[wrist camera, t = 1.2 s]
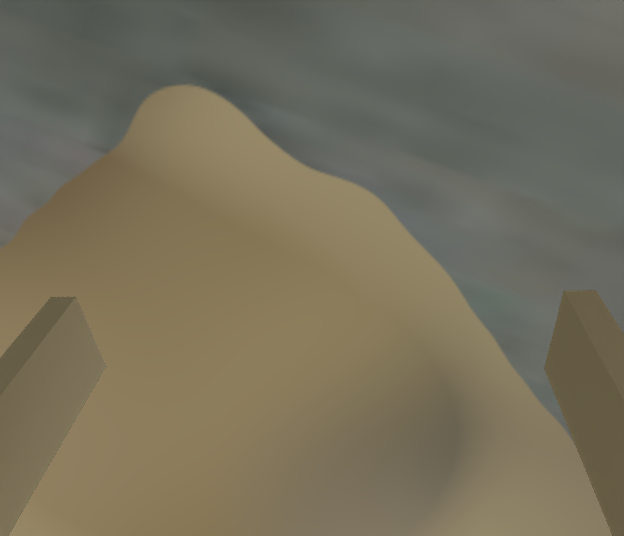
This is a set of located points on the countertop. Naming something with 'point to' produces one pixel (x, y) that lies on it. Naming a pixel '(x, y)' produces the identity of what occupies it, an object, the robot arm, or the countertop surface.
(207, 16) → the countertop surface
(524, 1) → the countertop surface
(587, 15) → the countertop surface
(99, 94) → the countertop surface
